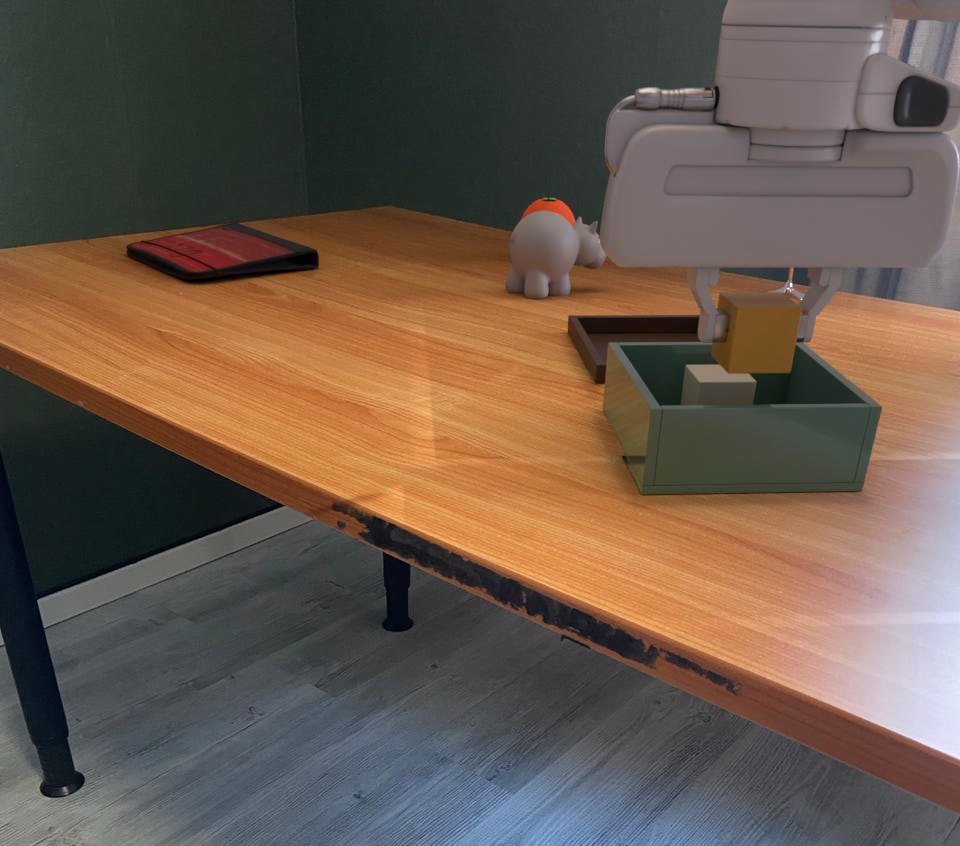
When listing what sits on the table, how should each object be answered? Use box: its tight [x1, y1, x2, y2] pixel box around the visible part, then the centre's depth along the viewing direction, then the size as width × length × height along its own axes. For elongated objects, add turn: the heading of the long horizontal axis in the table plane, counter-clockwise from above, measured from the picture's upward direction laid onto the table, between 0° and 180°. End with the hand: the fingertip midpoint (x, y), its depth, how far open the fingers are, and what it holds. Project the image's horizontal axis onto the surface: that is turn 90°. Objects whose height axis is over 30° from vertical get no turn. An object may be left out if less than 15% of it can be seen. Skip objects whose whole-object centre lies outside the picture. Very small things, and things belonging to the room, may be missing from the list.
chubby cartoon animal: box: [504, 211, 607, 300], centre depth 105 cm, size 7×12×8 cm, turn 119°
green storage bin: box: [602, 342, 883, 496], centre depth 68 cm, size 14×14×6 cm
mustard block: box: [711, 291, 802, 374], centre depth 62 cm, size 4×4×4 cm
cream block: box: [681, 365, 756, 405], centre depth 70 cm, size 4×4×4 cm
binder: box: [125, 221, 320, 280], centre depth 119 cm, size 16×2×21 cm
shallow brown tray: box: [567, 314, 701, 385], centre depth 86 cm, size 13×15×2 cm
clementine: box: [520, 196, 576, 226], centre depth 122 cm, size 8×7×7 cm
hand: (754, 340), depth 62 cm, fingers closed on mustard block, 4 cm apart
